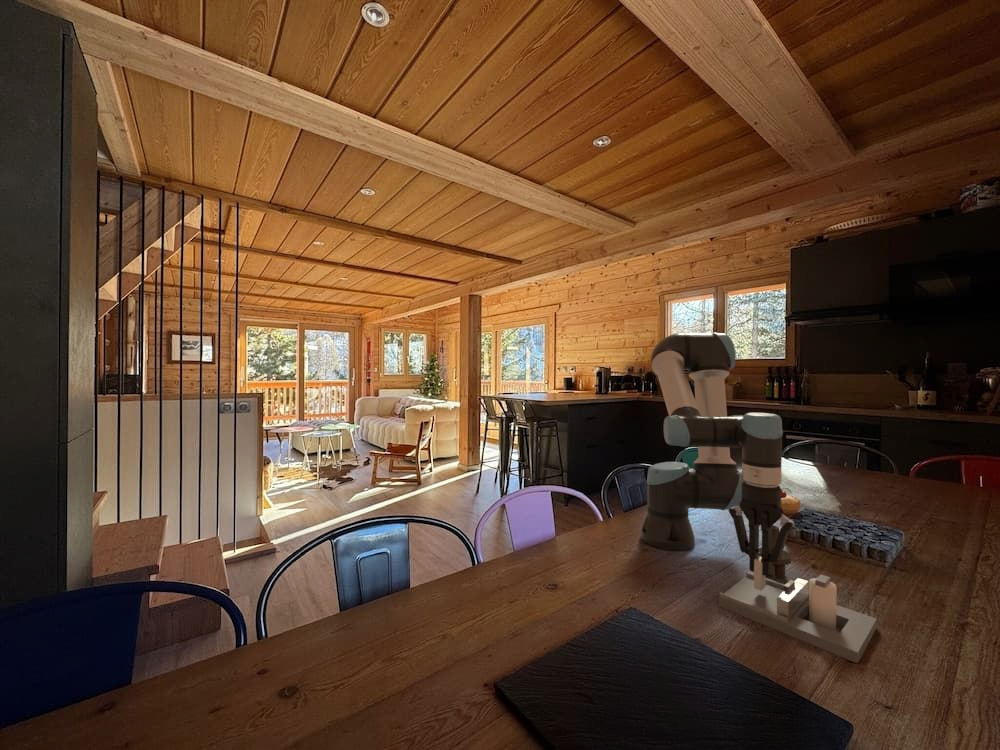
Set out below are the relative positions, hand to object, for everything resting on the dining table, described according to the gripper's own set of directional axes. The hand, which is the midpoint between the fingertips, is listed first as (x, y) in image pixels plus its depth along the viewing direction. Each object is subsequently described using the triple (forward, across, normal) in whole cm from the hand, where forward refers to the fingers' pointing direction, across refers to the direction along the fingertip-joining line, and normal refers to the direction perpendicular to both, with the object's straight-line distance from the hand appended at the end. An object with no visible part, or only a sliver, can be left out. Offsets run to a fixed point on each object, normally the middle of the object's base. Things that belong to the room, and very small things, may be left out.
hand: (759, 587), depth 97 cm
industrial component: (+4, -3, +17) cm, 18 cm away
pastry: (+5, -17, +74) cm, 76 cm away
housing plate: (+3, +7, -1) cm, 8 cm away
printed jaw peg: (+3, +12, -1) cm, 12 cm away
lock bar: (+1, +7, -1) cm, 7 cm away
